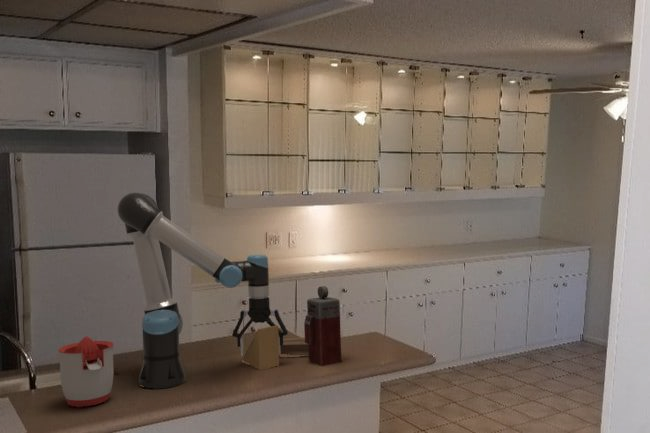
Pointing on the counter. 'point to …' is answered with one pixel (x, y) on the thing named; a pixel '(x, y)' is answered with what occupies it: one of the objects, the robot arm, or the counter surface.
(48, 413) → the counter surface
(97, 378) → the citrus juicer
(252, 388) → the counter surface
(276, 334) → the sandwich container
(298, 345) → the walnut stand
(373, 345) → the counter surface
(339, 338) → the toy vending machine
